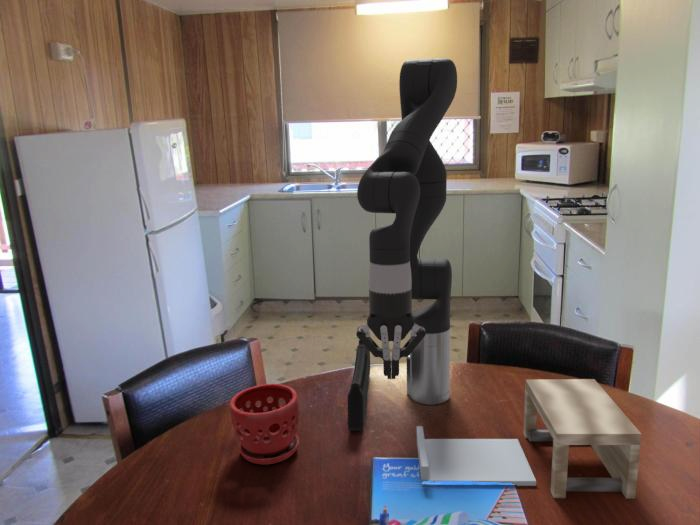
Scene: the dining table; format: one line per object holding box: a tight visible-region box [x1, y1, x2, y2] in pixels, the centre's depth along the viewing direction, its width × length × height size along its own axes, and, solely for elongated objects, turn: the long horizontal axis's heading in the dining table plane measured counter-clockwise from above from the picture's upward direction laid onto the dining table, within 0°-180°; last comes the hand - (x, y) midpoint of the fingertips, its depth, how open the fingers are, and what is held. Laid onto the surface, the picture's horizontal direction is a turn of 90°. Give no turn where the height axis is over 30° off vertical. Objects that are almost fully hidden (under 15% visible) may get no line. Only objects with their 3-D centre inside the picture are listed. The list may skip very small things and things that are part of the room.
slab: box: [416, 425, 537, 487], centre depth 107 cm, size 20×14×4 cm
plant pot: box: [229, 383, 300, 466], centre depth 112 cm, size 13×13×12 cm
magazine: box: [347, 339, 371, 432], centre depth 131 cm, size 17×3×30 cm
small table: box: [522, 378, 642, 500], centre depth 105 cm, size 14×21×12 cm, turn 177°
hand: (391, 377), depth 104 cm, fingers closed
